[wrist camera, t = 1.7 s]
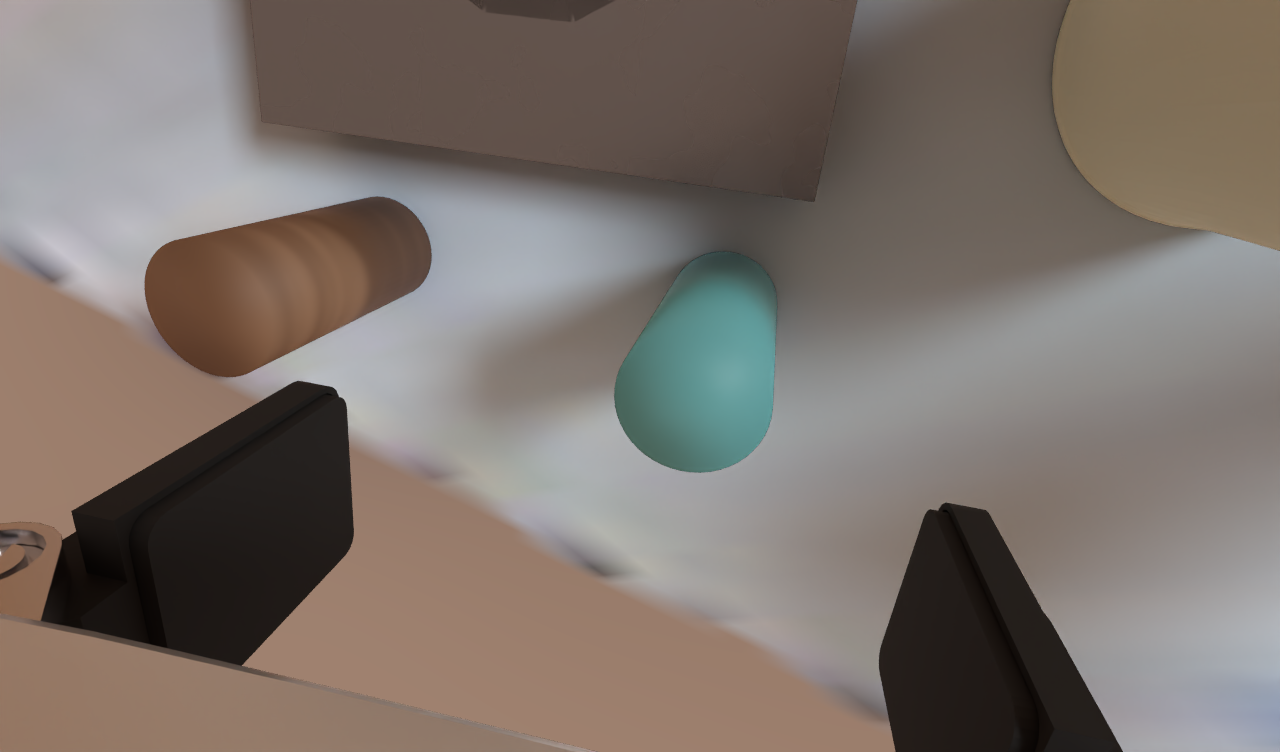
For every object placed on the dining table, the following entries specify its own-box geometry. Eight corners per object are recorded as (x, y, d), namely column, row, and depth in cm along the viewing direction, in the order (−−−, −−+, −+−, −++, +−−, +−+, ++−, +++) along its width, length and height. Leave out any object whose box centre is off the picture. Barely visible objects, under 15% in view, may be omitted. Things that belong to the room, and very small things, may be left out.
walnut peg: (431, 204, 23) (264, 251, 16) (431, 303, 24) (278, 388, 17) (336, 189, 23) (132, 228, 16) (342, 287, 25) (157, 363, 17)
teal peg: (786, 260, 21) (787, 342, 14) (765, 363, 23) (756, 486, 15) (677, 243, 22) (623, 313, 14) (663, 344, 23) (607, 455, 16)
